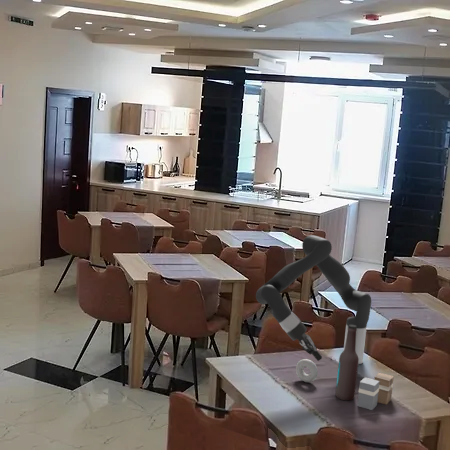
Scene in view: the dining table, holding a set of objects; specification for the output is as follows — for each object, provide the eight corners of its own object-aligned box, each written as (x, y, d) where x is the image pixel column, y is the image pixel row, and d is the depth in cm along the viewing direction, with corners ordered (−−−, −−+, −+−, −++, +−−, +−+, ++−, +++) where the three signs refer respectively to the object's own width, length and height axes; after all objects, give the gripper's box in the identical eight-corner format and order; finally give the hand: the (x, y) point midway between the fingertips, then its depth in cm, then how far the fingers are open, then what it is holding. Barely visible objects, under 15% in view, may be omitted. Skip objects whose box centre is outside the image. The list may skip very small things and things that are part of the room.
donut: (293, 380, 288) (295, 357, 287) (296, 377, 291) (299, 355, 290) (314, 386, 283) (316, 363, 282) (318, 383, 286) (320, 361, 284)
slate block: (362, 400, 272) (364, 377, 270) (377, 405, 269) (379, 381, 267) (356, 405, 267) (359, 381, 265) (372, 410, 264) (374, 385, 262)
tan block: (376, 395, 278) (379, 372, 277) (391, 399, 275) (394, 376, 274) (371, 400, 273) (374, 376, 271) (386, 404, 270) (389, 380, 268)
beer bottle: (341, 391, 280) (348, 321, 275) (357, 397, 275) (365, 326, 270) (331, 396, 274) (339, 324, 269) (348, 402, 269) (356, 329, 264)
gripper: (298, 325, 267) (326, 359, 267) (301, 316, 280) (328, 348, 280) (283, 336, 269) (312, 370, 268) (287, 326, 281) (313, 359, 281)
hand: (320, 359), depth 274 cm, fingers closed
